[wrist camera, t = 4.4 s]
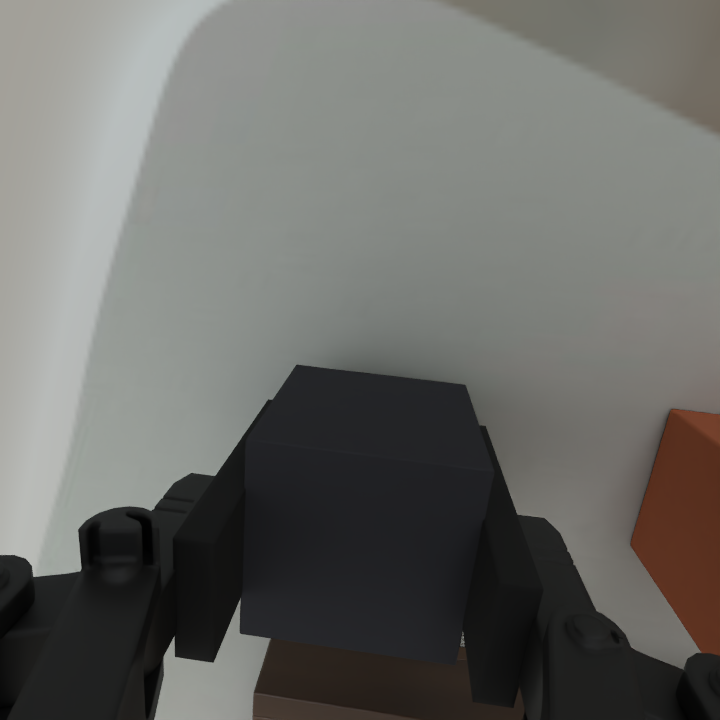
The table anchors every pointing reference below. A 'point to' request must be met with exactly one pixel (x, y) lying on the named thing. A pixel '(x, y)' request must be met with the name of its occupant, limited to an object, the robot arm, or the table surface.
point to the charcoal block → (363, 514)
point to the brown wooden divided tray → (366, 687)
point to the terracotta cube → (685, 524)
